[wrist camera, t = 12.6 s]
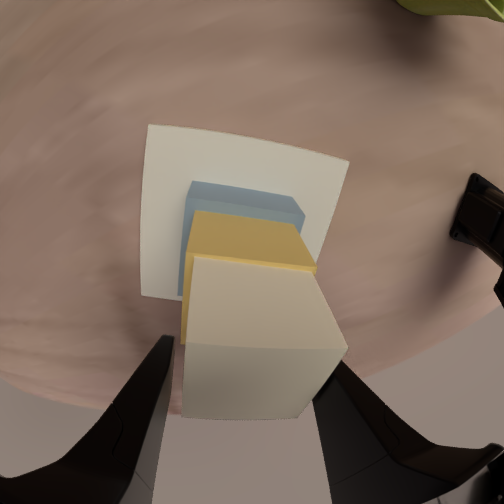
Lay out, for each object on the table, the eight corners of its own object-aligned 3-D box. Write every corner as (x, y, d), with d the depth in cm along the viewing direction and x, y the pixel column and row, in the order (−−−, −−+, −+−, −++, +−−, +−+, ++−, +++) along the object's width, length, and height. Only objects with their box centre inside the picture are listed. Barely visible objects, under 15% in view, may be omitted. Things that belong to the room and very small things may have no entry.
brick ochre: (293, 224, 14) (317, 267, 10) (271, 299, 16) (283, 351, 13) (195, 210, 13) (186, 252, 10) (186, 291, 15) (180, 344, 12)
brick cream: (311, 270, 11) (348, 348, 7) (279, 346, 13) (297, 418, 9) (194, 256, 10) (186, 341, 6) (185, 339, 12) (181, 417, 8)
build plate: (344, 159, 16) (349, 161, 15) (294, 305, 22) (296, 312, 21) (151, 123, 14) (148, 124, 13) (143, 288, 20) (141, 295, 19)
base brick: (292, 196, 16) (305, 215, 14) (269, 277, 19) (276, 305, 17) (192, 180, 15) (186, 197, 13) (182, 267, 18) (177, 295, 15)
